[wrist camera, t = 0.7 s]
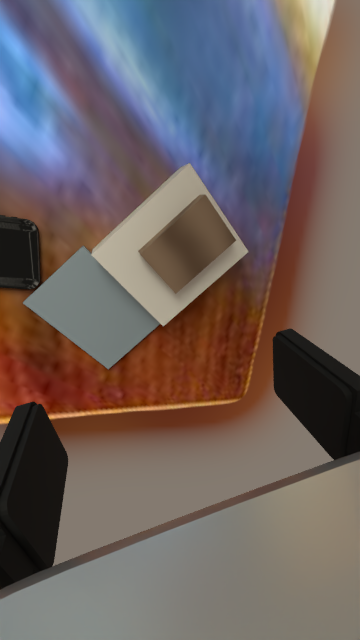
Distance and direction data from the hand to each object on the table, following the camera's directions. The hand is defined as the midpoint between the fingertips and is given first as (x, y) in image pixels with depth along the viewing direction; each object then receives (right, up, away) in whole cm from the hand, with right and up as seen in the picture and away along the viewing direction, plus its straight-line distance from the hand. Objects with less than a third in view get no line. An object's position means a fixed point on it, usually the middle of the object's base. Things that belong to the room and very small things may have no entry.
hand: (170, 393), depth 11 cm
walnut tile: (+1, +12, +20) cm, 24 cm away
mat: (-10, +4, +25) cm, 28 cm away
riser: (-1, +12, +24) cm, 27 cm away
